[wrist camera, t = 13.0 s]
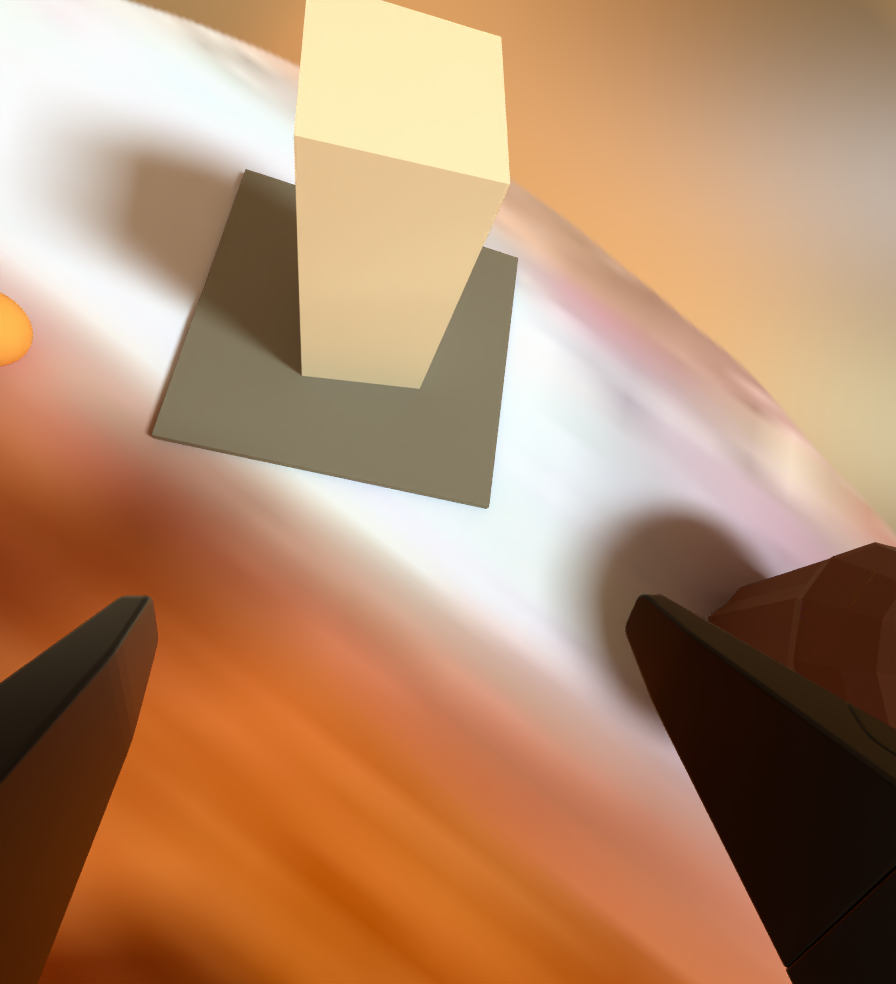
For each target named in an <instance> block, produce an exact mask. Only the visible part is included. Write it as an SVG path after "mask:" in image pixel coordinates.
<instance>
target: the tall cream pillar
mask: <svg viewBox="0 0 896 984" xmlns="http://www.w3.org/2000/svg"><path fill="white" fill-rule="evenodd" d="M506 127H507V126H506V110H505V94H504V76H503V60H502V45H501V37H499V36H496V35H492V34H490V33H486V32H483V31H480V30H476V29H473V28H470V27H466V26H463V25H460V24H457V23H453V22H450V21H447V20H443V19H440V18H437V17H434V16H431V15H427V14H424V13H421V12H417V11H414V10H410V9H408V8H404V7H401V6H398V5H395V4H391V3H388V2H385V1H381V0H306V9H305V20H304V31H303V42H302V53H301V64H300V75H299V85H298V96H297V107H296V118H295V129H294V153H295V183H296V213H297V243H298V274H299V304H300V334H301V364H302V376H309V377H318V378H327V379H336V380H345V381H354V382H363V383H372V384H381V385H390V386H399V387H408V388H417V389H420V387H421V385H422V382H423V380H424V378H425V376H426V373H427V371H428V369H429V366H430V364H431V362H432V360H433V357H434V355H435V353H436V351H437V348H438V346H439V344H440V342H441V339H442V337H443V335H444V333H445V330H446V328H447V326H448V324H449V321H450V319H451V317H452V315H453V312H454V310H455V308H456V305H457V303H458V301H459V299H460V296H461V294H462V292H463V290H464V287H465V285H466V283H467V281H468V278H469V276H470V274H471V272H472V269H473V267H474V265H475V263H476V260H477V258H478V256H479V254H480V251H481V249H482V247H483V244H484V242H485V240H486V238H487V235H488V233H489V231H490V229H491V226H492V224H493V222H494V220H495V217H496V215H497V213H498V211H499V208H500V206H501V204H502V202H503V199H504V197H505V195H506V192H507V190H508V188H509V186H510V174H509V159H508V143H507V128H506Z"/></svg>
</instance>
